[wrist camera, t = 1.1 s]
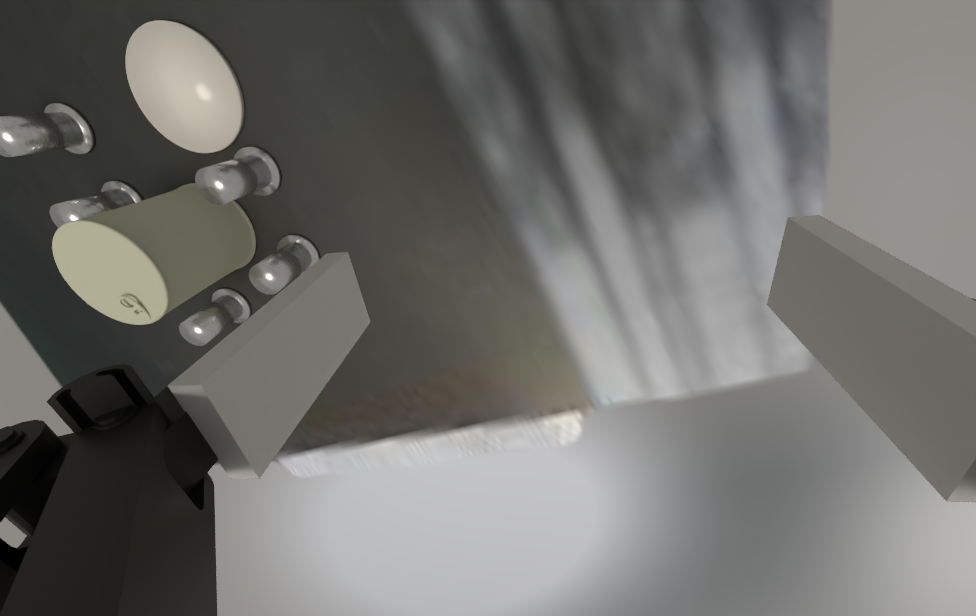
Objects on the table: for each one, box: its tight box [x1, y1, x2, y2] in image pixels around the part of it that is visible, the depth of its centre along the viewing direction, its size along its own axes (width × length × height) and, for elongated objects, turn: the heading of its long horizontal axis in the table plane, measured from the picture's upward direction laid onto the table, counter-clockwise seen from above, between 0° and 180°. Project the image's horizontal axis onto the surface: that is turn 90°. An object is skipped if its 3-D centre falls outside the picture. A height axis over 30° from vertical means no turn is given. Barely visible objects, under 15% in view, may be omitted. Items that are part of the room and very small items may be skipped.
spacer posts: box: [0, 103, 320, 346], centre depth 37 cm, size 25×19×6 cm
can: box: [52, 183, 256, 325], centre depth 37 cm, size 9×9×12 cm
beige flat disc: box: [125, 20, 245, 153], centre depth 35 cm, size 10×10×1 cm
